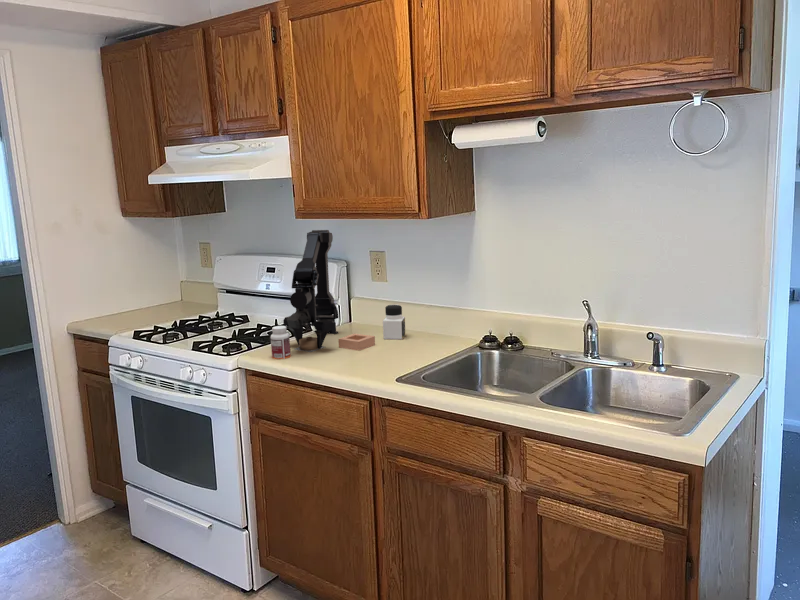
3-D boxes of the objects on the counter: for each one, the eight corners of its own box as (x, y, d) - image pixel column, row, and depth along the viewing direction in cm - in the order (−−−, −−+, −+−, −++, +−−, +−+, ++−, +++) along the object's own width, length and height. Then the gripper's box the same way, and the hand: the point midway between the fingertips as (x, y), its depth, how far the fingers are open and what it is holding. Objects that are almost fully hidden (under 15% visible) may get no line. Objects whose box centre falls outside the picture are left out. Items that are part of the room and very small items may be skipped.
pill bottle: (287, 355, 238) (285, 324, 236) (293, 360, 233) (291, 327, 231) (269, 358, 235) (267, 326, 233) (275, 363, 230) (273, 330, 228)
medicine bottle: (402, 339, 256) (401, 307, 254) (383, 339, 257) (382, 307, 255) (405, 334, 263) (404, 303, 260) (386, 334, 264) (385, 303, 262)
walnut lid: (295, 349, 243) (294, 338, 242) (308, 344, 249) (308, 334, 248) (310, 351, 239) (310, 340, 238) (324, 346, 245) (323, 336, 244)
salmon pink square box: (338, 350, 244) (338, 338, 243) (354, 344, 251) (354, 333, 250) (359, 353, 239) (358, 341, 238) (375, 347, 246) (374, 336, 245)
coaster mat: (293, 352, 243) (293, 349, 243) (308, 346, 249) (308, 344, 249) (310, 354, 239) (310, 352, 238) (326, 349, 245) (326, 346, 245)
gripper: (270, 304, 240) (273, 349, 242) (312, 309, 229) (314, 355, 232) (293, 299, 249) (295, 342, 251) (333, 303, 238) (336, 348, 241)
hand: (309, 347), depth 244 cm, fingers open, 9 cm apart
